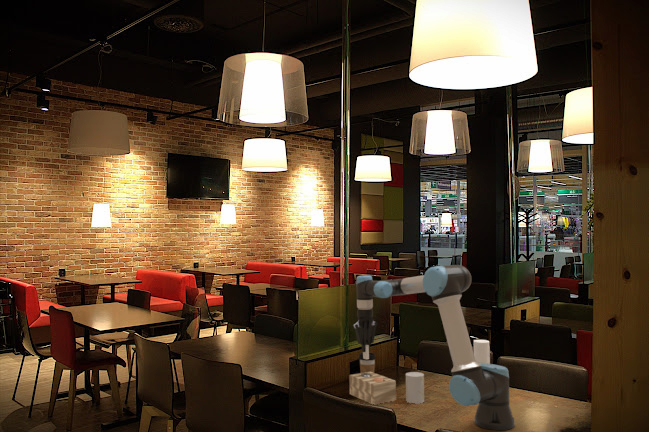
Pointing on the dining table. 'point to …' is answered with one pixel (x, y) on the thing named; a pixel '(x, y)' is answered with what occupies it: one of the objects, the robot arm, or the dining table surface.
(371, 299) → the robot arm
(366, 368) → the coffee cup
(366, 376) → the peg steel
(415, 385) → the cup
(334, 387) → the dining table surface
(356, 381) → the birch block
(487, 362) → the cylindrical container
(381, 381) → the peg terracotta
